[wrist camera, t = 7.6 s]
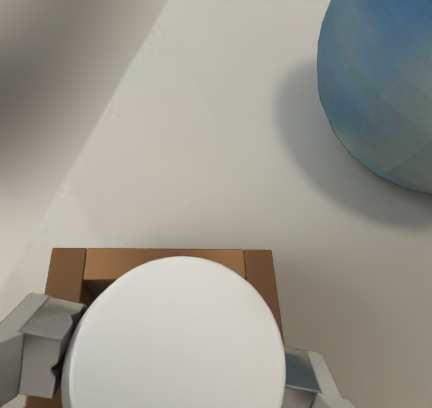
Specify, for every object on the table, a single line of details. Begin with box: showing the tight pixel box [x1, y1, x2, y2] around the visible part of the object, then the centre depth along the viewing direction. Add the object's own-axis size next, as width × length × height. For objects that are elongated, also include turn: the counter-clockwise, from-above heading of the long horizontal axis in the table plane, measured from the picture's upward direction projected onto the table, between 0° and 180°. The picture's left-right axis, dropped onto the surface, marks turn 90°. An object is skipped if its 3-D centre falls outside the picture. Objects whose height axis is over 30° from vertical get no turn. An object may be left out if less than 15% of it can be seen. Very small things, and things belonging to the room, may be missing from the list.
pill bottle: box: [61, 256, 286, 408], centre depth 10 cm, size 5×5×10 cm
